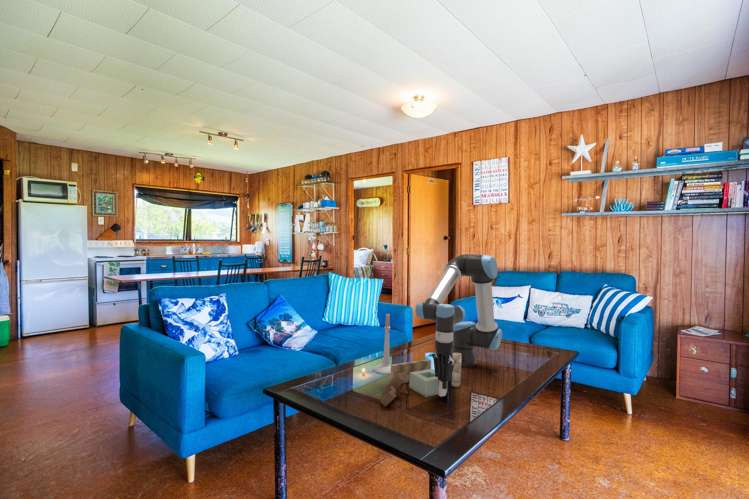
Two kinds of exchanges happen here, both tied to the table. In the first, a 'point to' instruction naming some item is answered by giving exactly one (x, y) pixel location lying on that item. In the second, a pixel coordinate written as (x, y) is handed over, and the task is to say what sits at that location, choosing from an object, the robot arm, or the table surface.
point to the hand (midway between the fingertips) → (442, 395)
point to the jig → (410, 368)
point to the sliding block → (424, 382)
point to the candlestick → (385, 352)
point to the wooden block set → (393, 389)
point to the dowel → (456, 370)
